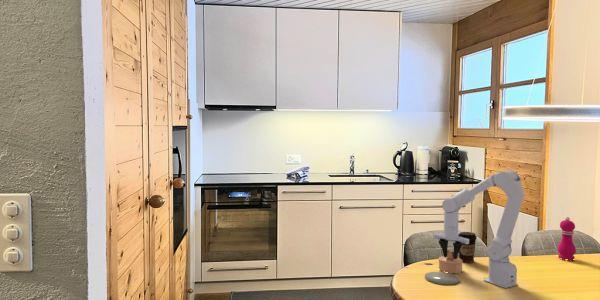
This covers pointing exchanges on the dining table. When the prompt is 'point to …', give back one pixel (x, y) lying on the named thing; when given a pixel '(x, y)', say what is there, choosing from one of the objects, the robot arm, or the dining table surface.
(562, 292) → the dining table surface
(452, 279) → the slate plate
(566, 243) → the pepper mill
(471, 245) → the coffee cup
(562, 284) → the dining table surface
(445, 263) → the lid with knob
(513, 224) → the robot arm
